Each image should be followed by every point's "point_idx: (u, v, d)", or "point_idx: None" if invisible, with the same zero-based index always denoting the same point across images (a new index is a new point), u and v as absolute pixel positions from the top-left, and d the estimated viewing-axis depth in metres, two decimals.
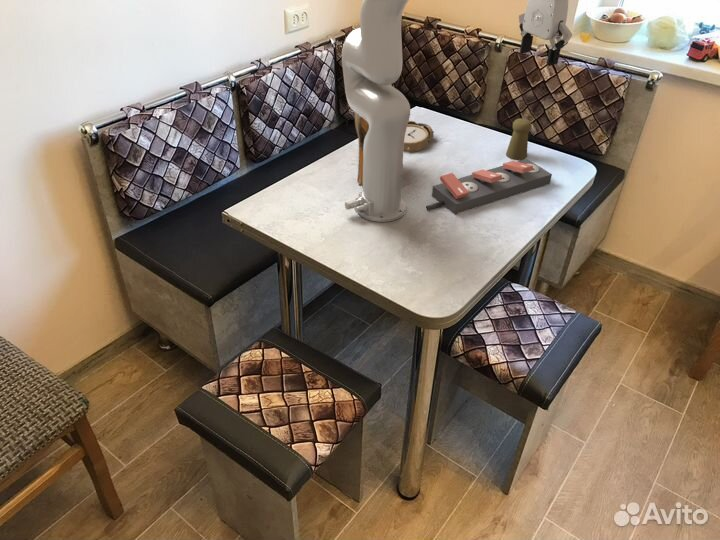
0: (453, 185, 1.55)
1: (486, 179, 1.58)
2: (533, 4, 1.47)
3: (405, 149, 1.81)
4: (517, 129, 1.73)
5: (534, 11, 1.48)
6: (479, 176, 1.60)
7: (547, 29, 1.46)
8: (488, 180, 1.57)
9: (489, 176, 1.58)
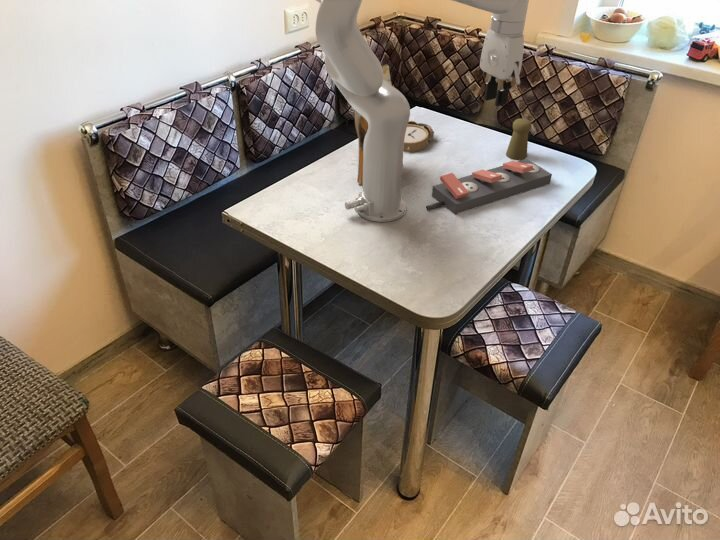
0: (453, 185, 1.55)
1: (486, 179, 1.58)
2: (489, 44, 1.45)
3: (405, 149, 1.81)
4: (517, 129, 1.73)
5: (489, 50, 1.45)
6: (479, 176, 1.60)
7: (503, 70, 1.43)
8: (488, 180, 1.57)
9: (489, 176, 1.58)
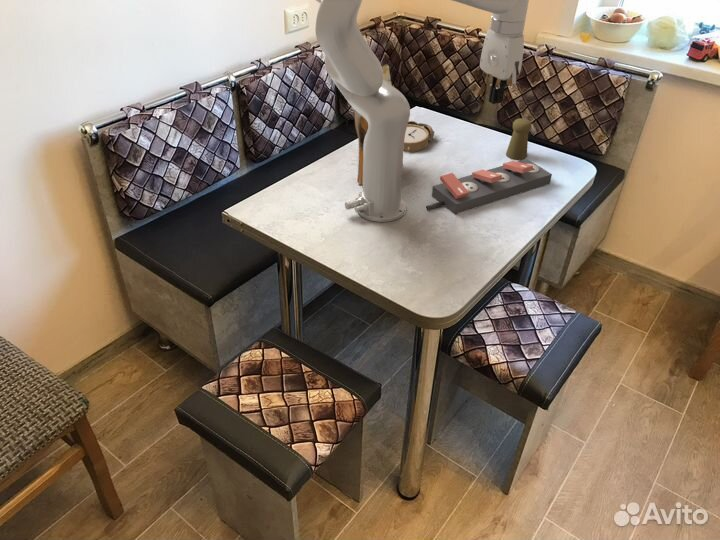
0: (453, 185, 1.55)
1: (486, 179, 1.58)
2: (489, 44, 1.45)
3: (405, 149, 1.81)
4: (517, 129, 1.73)
5: (489, 50, 1.45)
6: (479, 176, 1.60)
7: (503, 70, 1.43)
8: (488, 180, 1.57)
9: (489, 176, 1.58)
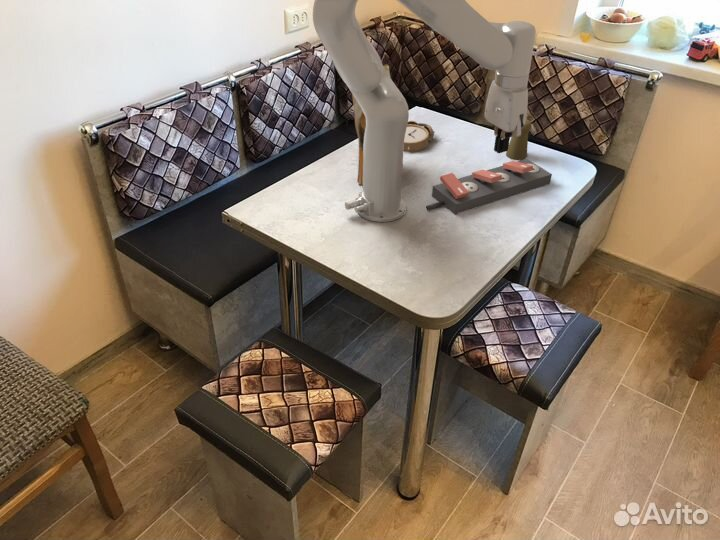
0: (453, 185, 1.55)
1: (486, 179, 1.58)
2: (493, 97, 1.46)
3: (405, 149, 1.81)
4: None
5: (494, 103, 1.46)
6: (479, 176, 1.60)
7: (507, 122, 1.44)
8: (488, 180, 1.57)
9: (489, 176, 1.58)
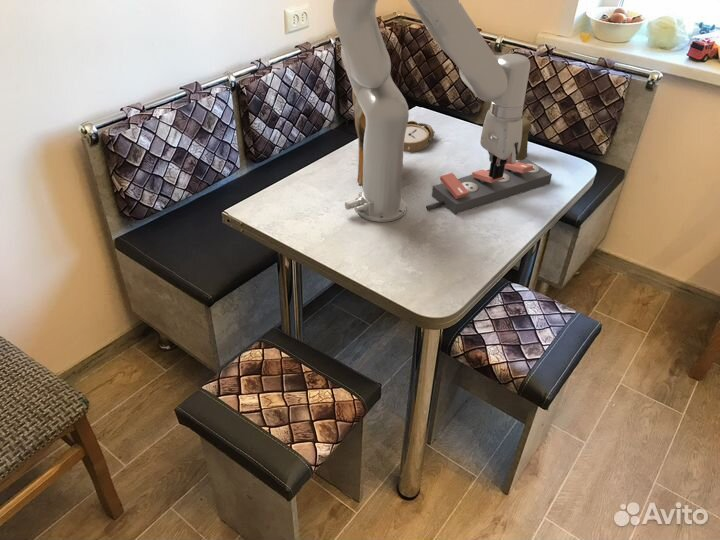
0: (453, 185, 1.55)
1: (486, 179, 1.58)
2: (489, 125, 1.50)
3: (405, 149, 1.81)
4: None
5: (489, 131, 1.50)
6: (479, 176, 1.60)
7: (502, 150, 1.48)
8: (488, 181, 1.57)
9: (489, 176, 1.58)
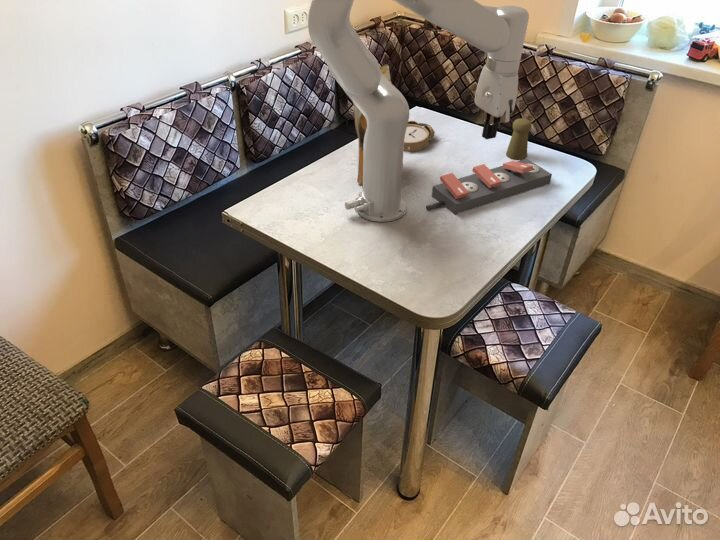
0: (453, 185, 1.55)
1: (486, 182, 1.59)
2: (484, 81, 1.46)
3: (406, 149, 1.81)
4: (517, 129, 1.73)
5: (484, 87, 1.46)
6: (479, 175, 1.60)
7: (496, 107, 1.44)
8: (488, 185, 1.58)
9: (489, 180, 1.58)
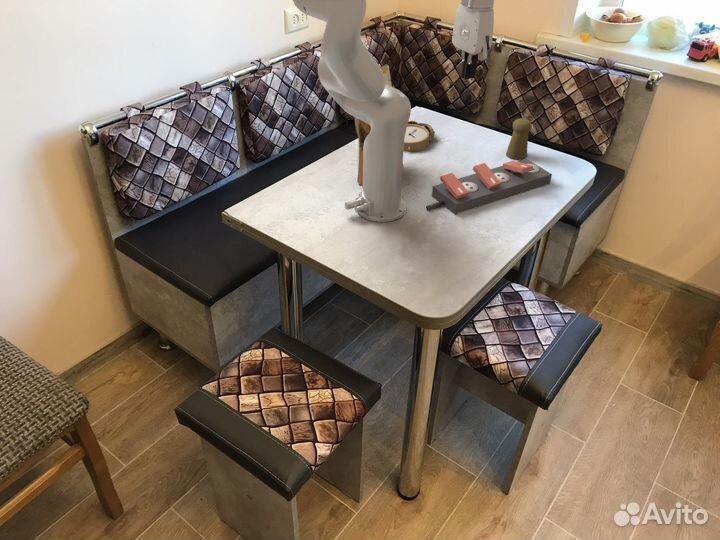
0: (453, 185, 1.55)
1: (485, 183, 1.59)
2: (460, 19, 1.47)
3: (406, 149, 1.81)
4: (517, 129, 1.73)
5: (461, 25, 1.47)
6: (479, 175, 1.60)
7: (473, 44, 1.45)
8: (487, 186, 1.59)
9: (489, 181, 1.59)
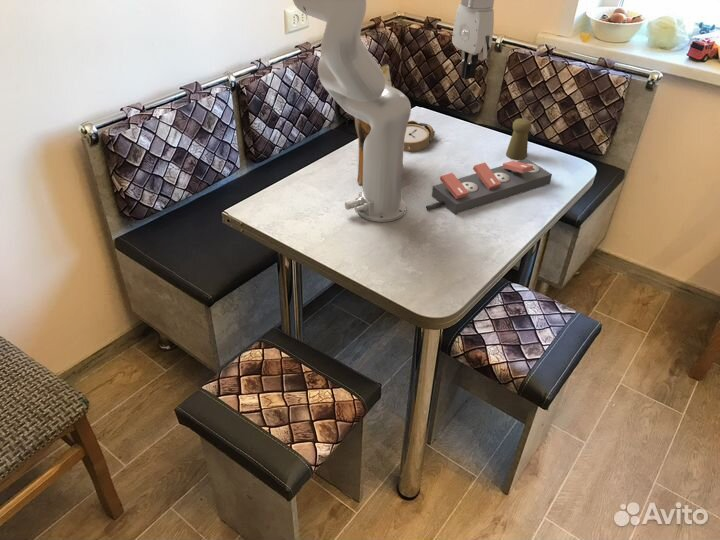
0: (453, 185, 1.55)
1: (485, 183, 1.59)
2: (460, 19, 1.47)
3: (406, 149, 1.81)
4: (517, 129, 1.73)
5: (461, 25, 1.47)
6: (480, 175, 1.60)
7: (473, 44, 1.45)
8: (487, 186, 1.59)
9: (489, 181, 1.59)
